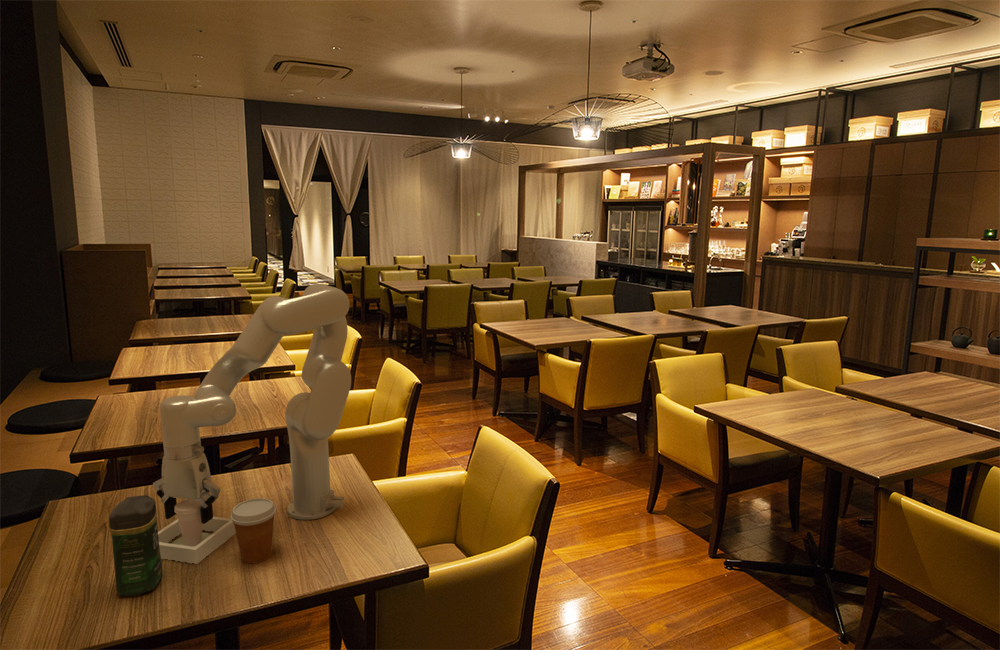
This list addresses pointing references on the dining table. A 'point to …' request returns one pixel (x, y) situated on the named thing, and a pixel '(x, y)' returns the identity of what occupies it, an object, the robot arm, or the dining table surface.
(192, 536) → the smoothie
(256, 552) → the disposable coffee cup
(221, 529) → the white square frame
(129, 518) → the coffee jar
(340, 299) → the robot arm
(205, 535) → the pale green round spot
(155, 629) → the dining table surface
